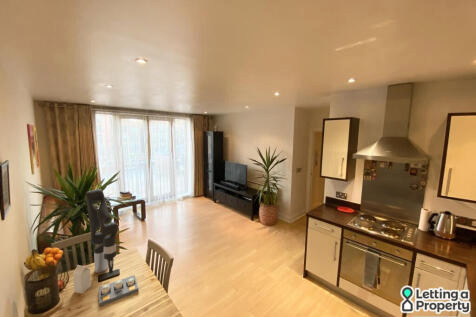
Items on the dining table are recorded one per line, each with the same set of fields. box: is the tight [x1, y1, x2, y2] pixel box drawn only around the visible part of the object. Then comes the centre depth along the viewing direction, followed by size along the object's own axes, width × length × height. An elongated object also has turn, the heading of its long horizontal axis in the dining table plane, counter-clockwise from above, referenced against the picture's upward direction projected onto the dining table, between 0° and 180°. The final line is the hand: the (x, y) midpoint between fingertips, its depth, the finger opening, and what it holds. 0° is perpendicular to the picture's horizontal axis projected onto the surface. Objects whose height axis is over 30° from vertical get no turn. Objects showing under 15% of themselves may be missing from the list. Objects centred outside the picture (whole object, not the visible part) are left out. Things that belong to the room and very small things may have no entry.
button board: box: [98, 274, 139, 308], centre depth 146 cm, size 17×24×3 cm
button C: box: [127, 278, 134, 287], centre depth 151 cm, size 5×5×4 cm
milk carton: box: [72, 264, 92, 294], centre depth 146 cm, size 7×7×19 cm
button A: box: [101, 283, 110, 295], centre depth 141 cm, size 5×5×4 cm
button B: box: [114, 279, 122, 290], centre depth 146 cm, size 5×5×4 cm
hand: (110, 272), depth 142 cm, fingers closed
